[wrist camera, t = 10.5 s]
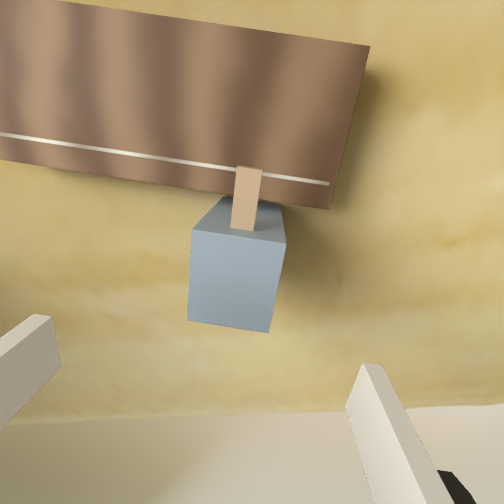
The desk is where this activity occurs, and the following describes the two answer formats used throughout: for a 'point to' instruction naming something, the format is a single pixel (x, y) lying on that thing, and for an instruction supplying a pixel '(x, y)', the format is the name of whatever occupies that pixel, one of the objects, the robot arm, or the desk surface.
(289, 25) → the desk surface
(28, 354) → the robot arm
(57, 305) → the desk surface
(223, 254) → the pale blue block
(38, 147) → the plank
